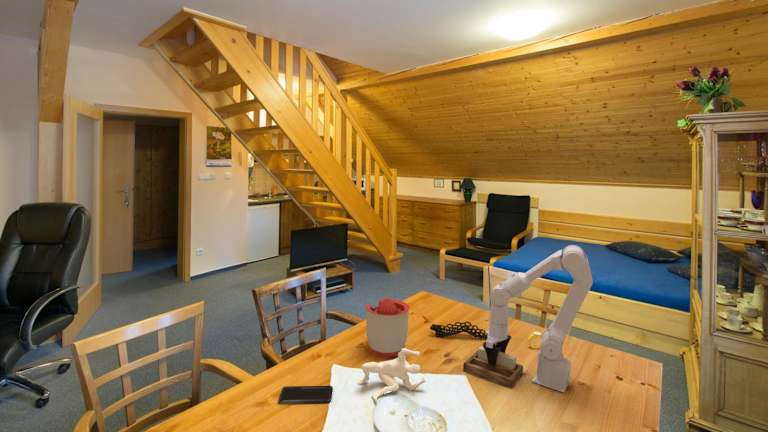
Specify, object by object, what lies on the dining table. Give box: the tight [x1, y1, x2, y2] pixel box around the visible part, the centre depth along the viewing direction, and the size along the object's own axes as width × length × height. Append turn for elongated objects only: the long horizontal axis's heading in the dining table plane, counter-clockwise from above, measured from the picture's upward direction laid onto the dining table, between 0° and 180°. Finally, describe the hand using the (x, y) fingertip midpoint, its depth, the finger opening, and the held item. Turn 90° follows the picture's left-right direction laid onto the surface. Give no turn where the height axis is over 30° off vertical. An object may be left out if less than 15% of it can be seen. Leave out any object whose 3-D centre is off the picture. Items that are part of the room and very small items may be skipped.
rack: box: [462, 350, 524, 389], centre depth 130 cm, size 16×11×3 cm
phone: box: [277, 385, 334, 405], centre depth 115 cm, size 8×1×15 cm
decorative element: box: [429, 321, 488, 340], centre depth 156 cm, size 22×5×6 cm, turn 86°
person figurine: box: [357, 347, 426, 404], centre depth 120 cm, size 13×13×18 cm
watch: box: [527, 331, 542, 350], centre depth 147 cm, size 6×3×6 cm, turn 88°
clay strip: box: [477, 345, 517, 371], centre depth 131 cm, size 12×2×5 cm, turn 53°
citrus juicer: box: [365, 297, 410, 359], centre depth 143 cm, size 16×17×20 cm
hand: (496, 360), depth 131 cm, fingers open, 7 cm apart
